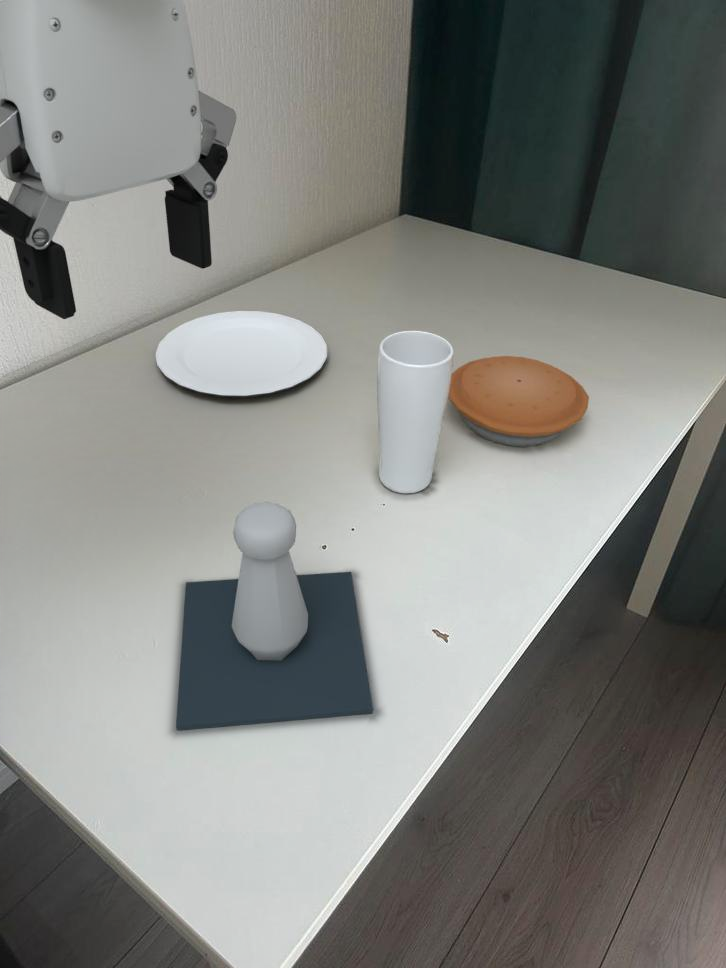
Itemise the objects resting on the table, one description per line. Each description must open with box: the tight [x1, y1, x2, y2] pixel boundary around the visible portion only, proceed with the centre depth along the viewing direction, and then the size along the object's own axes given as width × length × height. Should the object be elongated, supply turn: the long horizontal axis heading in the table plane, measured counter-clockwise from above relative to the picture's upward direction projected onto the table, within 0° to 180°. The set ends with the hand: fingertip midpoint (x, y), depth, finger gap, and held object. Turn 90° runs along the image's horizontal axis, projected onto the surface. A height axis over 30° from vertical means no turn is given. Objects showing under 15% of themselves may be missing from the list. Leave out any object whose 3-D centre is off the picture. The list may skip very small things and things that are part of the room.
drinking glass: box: [376, 330, 454, 494], centre depth 73 cm, size 7×7×15 cm
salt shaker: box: [232, 501, 308, 661], centre depth 56 cm, size 6×6×13 cm
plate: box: [155, 310, 328, 398], centre depth 95 cm, size 21×21×2 cm
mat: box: [175, 571, 374, 731], centre depth 61 cm, size 14×14×1 cm
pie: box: [448, 355, 590, 448], centre depth 86 cm, size 16×16×5 cm
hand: (127, 284), depth 45 cm, fingers open, 9 cm apart
